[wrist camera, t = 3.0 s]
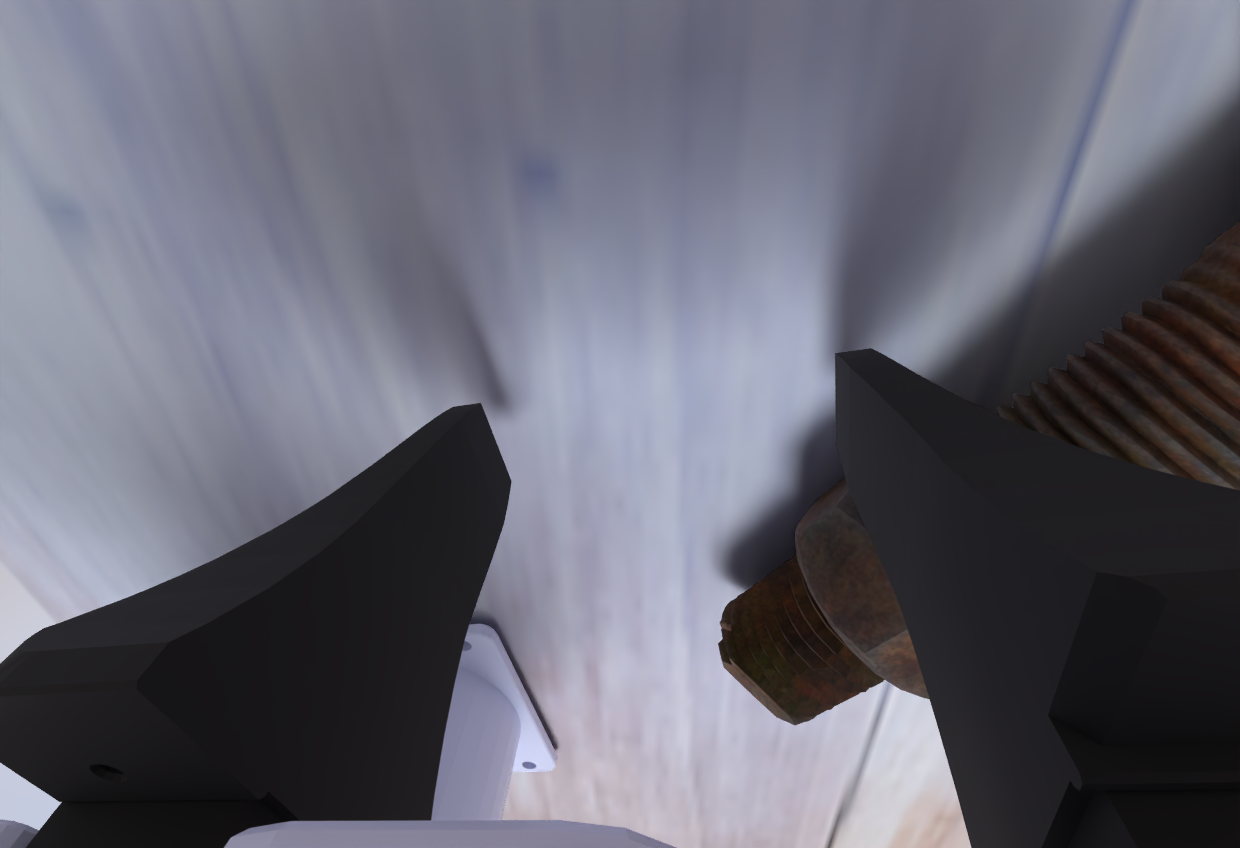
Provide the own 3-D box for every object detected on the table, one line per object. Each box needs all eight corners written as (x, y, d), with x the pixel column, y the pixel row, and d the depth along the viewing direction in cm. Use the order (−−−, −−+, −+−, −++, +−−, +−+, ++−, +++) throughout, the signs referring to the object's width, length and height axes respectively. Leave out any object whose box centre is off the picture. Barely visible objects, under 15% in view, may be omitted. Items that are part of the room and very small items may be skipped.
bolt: (727, 541, 18) (1312, 63, 10) (849, 674, 17) (1601, 267, 9) (637, 651, 13) (1652, -121, 5) (801, 847, 12) (2368, 284, 4)
